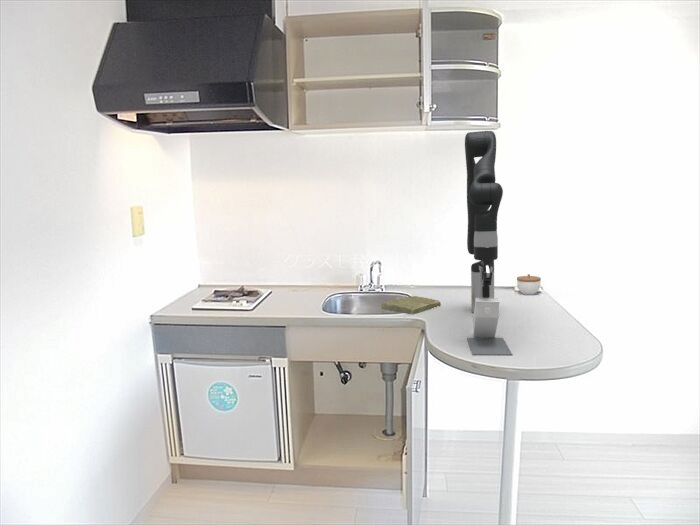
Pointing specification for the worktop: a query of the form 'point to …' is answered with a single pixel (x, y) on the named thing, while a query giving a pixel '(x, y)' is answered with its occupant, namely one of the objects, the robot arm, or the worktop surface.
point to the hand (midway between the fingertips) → (485, 297)
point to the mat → (488, 346)
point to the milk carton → (485, 317)
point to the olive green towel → (410, 304)
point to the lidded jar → (528, 284)
